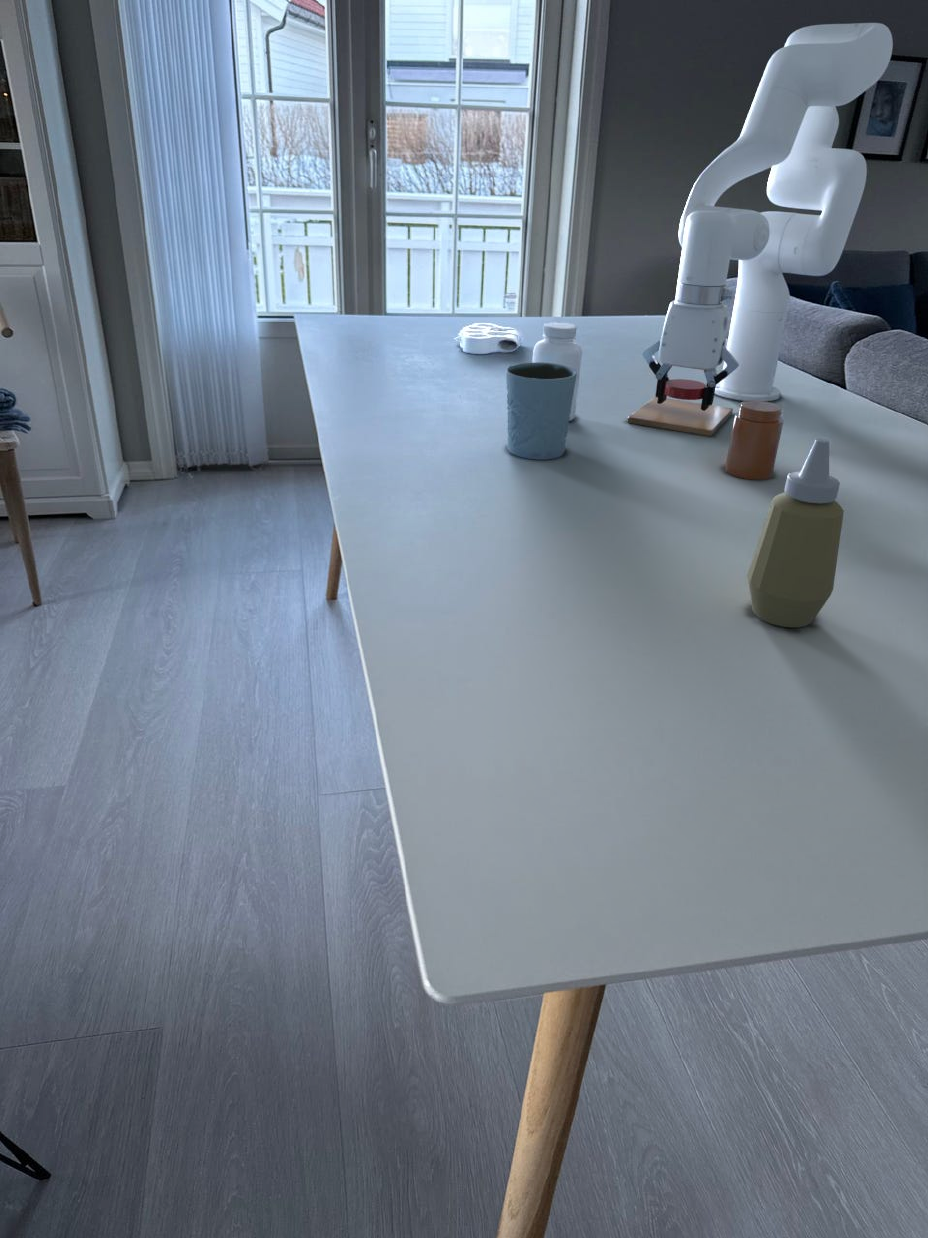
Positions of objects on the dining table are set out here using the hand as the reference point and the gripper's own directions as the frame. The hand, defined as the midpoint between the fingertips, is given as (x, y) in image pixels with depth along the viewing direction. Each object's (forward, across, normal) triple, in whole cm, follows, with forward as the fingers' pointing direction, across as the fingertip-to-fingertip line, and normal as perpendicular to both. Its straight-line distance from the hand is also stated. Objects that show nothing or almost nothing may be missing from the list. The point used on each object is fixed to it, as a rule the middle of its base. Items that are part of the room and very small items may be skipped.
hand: (683, 404), depth 153 cm
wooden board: (+2, 0, 0) cm, 2 cm away
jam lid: (-3, 0, 0) cm, 3 cm away
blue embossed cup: (+3, +14, +31) cm, 34 cm away
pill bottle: (+3, +19, +12) cm, 23 cm away
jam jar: (+2, -16, +23) cm, 28 cm away
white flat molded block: (+3, +53, -34) cm, 63 cm away
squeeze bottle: (+3, -28, +67) cm, 73 cm away
